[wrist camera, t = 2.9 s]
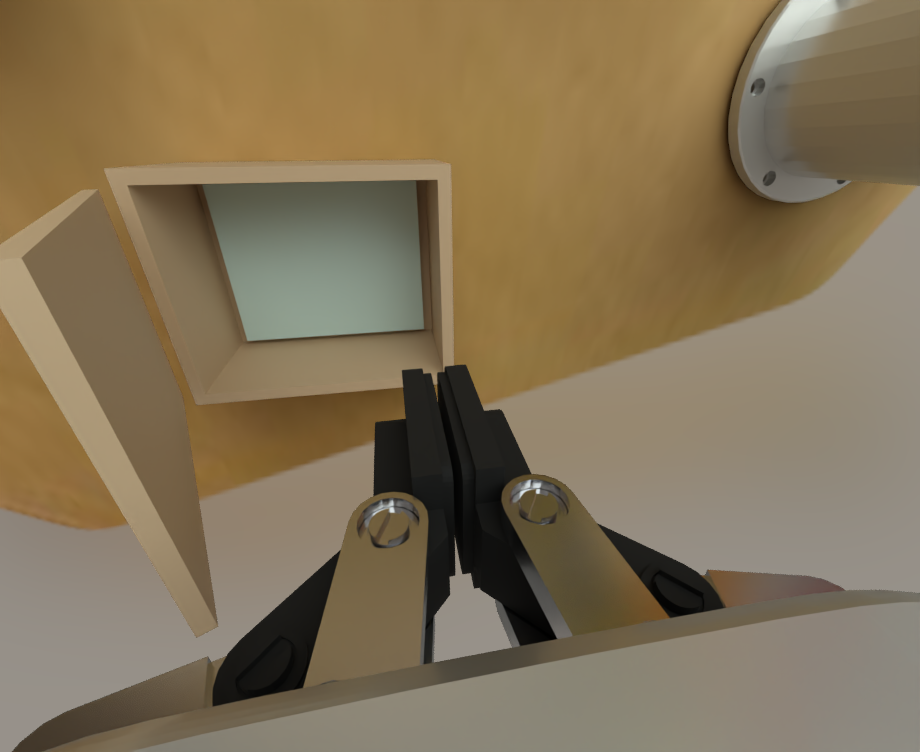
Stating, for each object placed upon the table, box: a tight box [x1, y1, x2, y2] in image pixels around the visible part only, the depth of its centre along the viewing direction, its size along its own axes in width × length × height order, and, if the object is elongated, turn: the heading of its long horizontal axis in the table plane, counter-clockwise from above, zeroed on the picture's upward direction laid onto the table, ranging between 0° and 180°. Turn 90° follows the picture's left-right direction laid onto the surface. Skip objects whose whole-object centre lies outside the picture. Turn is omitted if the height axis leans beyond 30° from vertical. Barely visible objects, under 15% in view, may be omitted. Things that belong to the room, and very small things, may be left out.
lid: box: [0, 189, 218, 637], centre depth 13 cm, size 14×10×1 cm
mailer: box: [104, 159, 454, 405], centre depth 22 cm, size 14×11×7 cm
